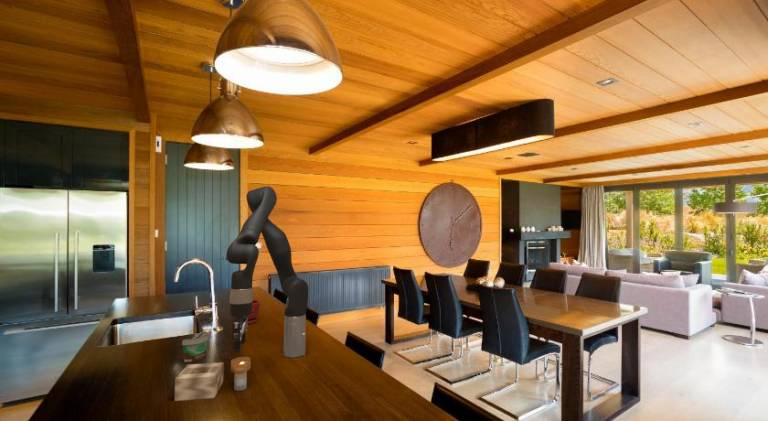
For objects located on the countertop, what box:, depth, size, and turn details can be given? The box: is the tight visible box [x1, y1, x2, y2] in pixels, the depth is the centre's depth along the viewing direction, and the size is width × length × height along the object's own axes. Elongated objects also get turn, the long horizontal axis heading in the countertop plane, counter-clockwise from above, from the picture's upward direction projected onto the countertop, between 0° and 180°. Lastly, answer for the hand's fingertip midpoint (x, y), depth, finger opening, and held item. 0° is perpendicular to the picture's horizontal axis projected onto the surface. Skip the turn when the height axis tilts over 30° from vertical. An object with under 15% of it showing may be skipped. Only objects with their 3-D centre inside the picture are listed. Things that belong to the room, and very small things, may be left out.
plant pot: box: [248, 299, 261, 325], centre depth 208 cm, size 13×13×12 cm
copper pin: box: [230, 356, 252, 392], centre depth 126 cm, size 6×6×10 cm
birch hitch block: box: [174, 362, 224, 402], centre depth 124 cm, size 12×12×7 cm
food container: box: [181, 331, 210, 365], centre depth 152 cm, size 12×6×10 cm, turn 168°
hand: (239, 347), depth 127 cm, fingers open, 8 cm apart
